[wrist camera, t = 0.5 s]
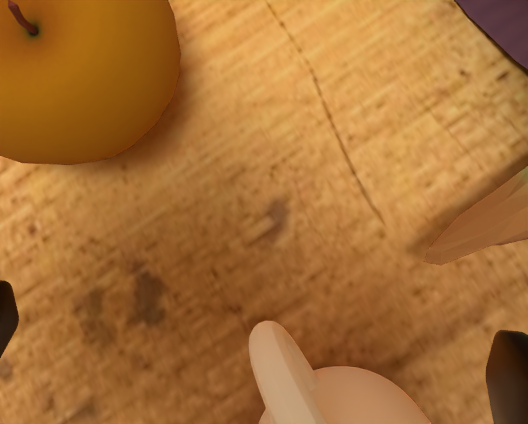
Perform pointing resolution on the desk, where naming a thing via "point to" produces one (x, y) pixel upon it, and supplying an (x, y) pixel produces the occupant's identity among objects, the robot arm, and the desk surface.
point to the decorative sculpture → (518, 187)
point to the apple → (83, 76)
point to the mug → (321, 387)
